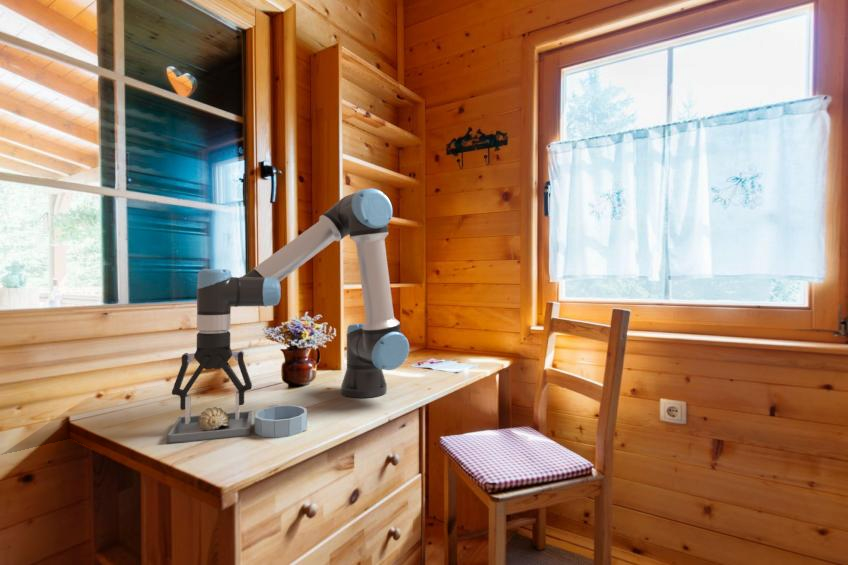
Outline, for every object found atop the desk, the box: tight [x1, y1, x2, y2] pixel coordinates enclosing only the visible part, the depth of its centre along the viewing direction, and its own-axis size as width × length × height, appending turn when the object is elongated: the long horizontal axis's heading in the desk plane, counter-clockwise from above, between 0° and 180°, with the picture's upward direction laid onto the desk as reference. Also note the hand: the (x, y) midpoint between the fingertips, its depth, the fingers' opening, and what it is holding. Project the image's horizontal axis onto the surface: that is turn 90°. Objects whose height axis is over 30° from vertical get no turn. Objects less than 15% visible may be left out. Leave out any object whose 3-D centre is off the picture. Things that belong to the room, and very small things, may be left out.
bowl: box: [254, 404, 308, 438], centre depth 109 cm, size 12×12×4 cm
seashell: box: [198, 406, 229, 431], centre depth 108 cm, size 8×6×10 cm
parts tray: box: [166, 410, 253, 445], centre depth 108 cm, size 17×14×2 cm
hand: (213, 420), depth 108 cm, fingers open, 10 cm apart
